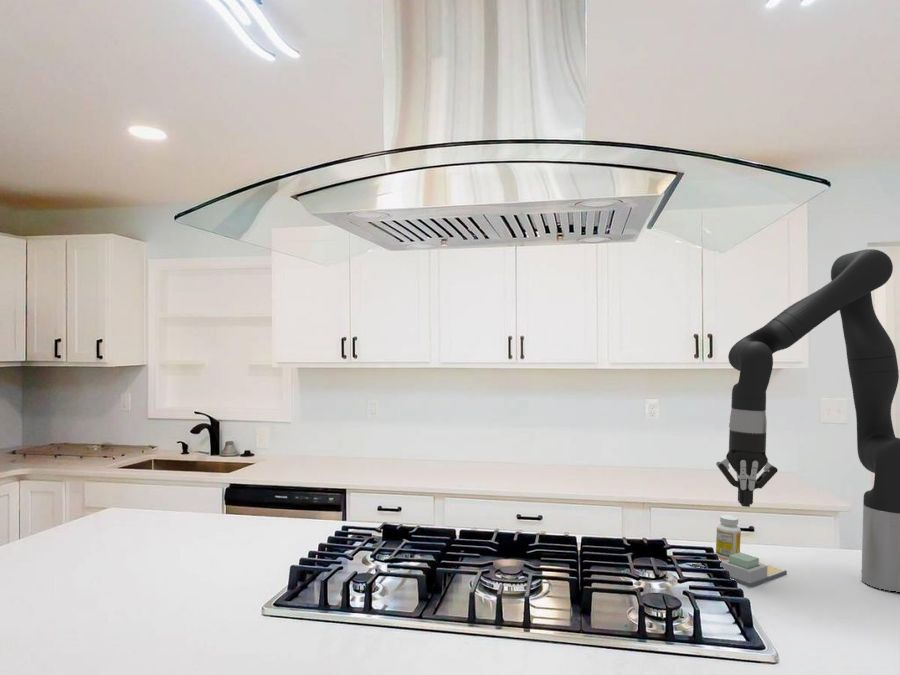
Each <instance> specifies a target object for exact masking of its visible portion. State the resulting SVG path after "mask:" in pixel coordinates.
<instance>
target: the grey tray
mask: <svg viewBox="0 0 900 675" xmlns="http://www.w3.org/2000/svg"><path fill="white" fill-rule="evenodd" d="M714 553H716V551H715V552H714ZM719 559H720V560H721V561H722V562H721V563H720V567H723V568H724V569H725V570H727V571H729V573H730V578H731V579H734V580H736V581H737V582H736V583H737V584H740V585H743V586H746V587H749V588H754V587H756V586H760V585H762V584H765V583H767V582H770V581H774V580H775V579H779V578H781V577H784V576H786V575H788V574H787V573H788V571H787V570H785V569H781V568H779V567H776V566H773V565H769V564H766V563H763V562H759V566H758V567H755V568H752V569H749V570H748V569H745V568H742V567H739V566H736V565H733V564H730V563H729V559H728V560H727V559H723V558H720V557H719ZM693 566H694V567H693ZM691 567H693V568H696V567H700V568H704V567H705V566H704V565H702V564H692V566H691Z"/></svg>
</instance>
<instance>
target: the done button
mask: <svg viewBox="0 0 900 675" xmlns="http://www.w3.org/2000/svg"><path fill="white" fill-rule="evenodd" d="M759 560H760V558H759V557H757V556H753V555H750V554H747V553H743V552H741V551H740V552H739V553H736V554H733V555H730V556H729V563H730V564H733V565H736V566H739V567H742V568H745V569H748V570H749V569H752V568H755V567H758V566H759Z"/></svg>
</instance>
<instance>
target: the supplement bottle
mask: <svg viewBox="0 0 900 675" xmlns="http://www.w3.org/2000/svg"><path fill="white" fill-rule="evenodd" d="M719 521H720V523H719V524H717V526H716V541H715V543H716V544H715V545H716V546H715V552H716V554H717V555H718V557H720V558H723V559H727V560H728V559H729V556H730V555H733V554H736V553H739V552H741V533H742V530H741V528H740V527H739V526H737V525H738V524H739V518H738V517H737V516H733V515H730V514H725V515H724V514H722V515H720V517H719Z"/></svg>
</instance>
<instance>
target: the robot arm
mask: <svg viewBox="0 0 900 675" xmlns="http://www.w3.org/2000/svg"><path fill="white" fill-rule="evenodd" d="M893 265H894V264H893V261H892V259H891V258H890V256H889V255H888V254H887V253H886V252H885V251H881V250H879V249H868V248H867V249H862V250H861V249H860V250H858V251H853V252H849V253H846V254H843V255H841V256H838V257H837V258H836V259H835V261H834V262H833V264H832V265H831V269H830V280H831V281H829V282H828V283H826V284H825V285H824V286H823V287H821V288H819V289H818V290H816V291H815V292H812V293H811V294H809V295H806V296H805V297H803V298H801V299H800V300H798V301H797V302H794V303H792V304H791V305H790V306H788V307H787V308H785V309H783V311H781V312H780V313H778V314H777V315H776V316H775V317H774V318H772V319H771V320H770V321H769V322H767V323H766V324H764V326H761V327H760V328H758V329H757V330H754V331H753V332H751V333H749V334H748V335H746V336H744V337H742V338H741V339H740V340H738V341H737V342H735V344H734V345H733V346H732V347H731V348H730V349H729V352H728V355H727V356H728V363H729V364H730V366H731V367H732V368H733V369H735V370H737V371H739V376H738V382H737V383H735V384H734V385H733V387H732V390H731V410H730V415H729V422H728V428H729V429H728V430H729V435H728V451H727V453H726V456H725V459H723V460H722V461H717V462H716V463H715V465H716V466H717V468H718V470H719V471H720V472H721V474H722V475H723V476H724V477H725V479H726V480H727V481H728V483H729V484H730V485H731V486H732V487H735V488H737V502H738V503H739V504H740V506H741V507H744V508H746V507H747V508H750V507H751V505H753V502H754V491H755V490H756V489H759V490H760V489H763V488H764V486H766V484H767V483H768V482H769V481H770V480H771V479H772V478H774V476H775V474H777V472H778V470H779V469H778V468H777V467H776V466H774V465H772V464H771V463H770V462H769V459H768V456H767V455H766V454H767V452H766V450H767V449H766V448H767V424H768V422H767V421H768V420H767V390H768V386H769V384H770V380H771V375H772V371H773V367H774V366H773V365H774V357H773V354H775V353H776V352H779V351H783V350H785V349H788V348H790V347H792V346H793V345H795V343H797V342H799V340H801V339H802V338H804V337H805V336H807V334H808V333H810V332H811V331H812V330H813V329H816V327H818V326H819V325H821V324H822V323H823V322H824V321H826V320H828V318H830V317H831V316H833V315H835V314H836V313H837V312H839V314H840V318H841V326H842V330H843V331H842V332H843V338H844V343H845V350H846V361H847V366H848V374H849V378H850V384H851V390H852V396H853V403H854V409H855V418H856V446H857V455H858V459H859V462H860V464H861V465H862V466H863V467H864V468H865V470H867V471H869V472H871V473H872V474H874V477H873V479H874V481H873V485H872V488H871V489H870V490H867V491H865V492H864V493H863V500H862V502H863V505H862V509H863V510H862V536H861V537H862V542H861V544H862V545H861V547H862V548H861V549H862V550H861V569H860V570H861V571H860V572H861V573H860V574H861V579H862V580H861V581H862V583H864V584H865V583H866V584H865V585H867V584H868V585H867V586H869V585H870V587H872V586H873V587H872V588H874V587H876V588H875V589H877V588H879V590H881V589H884V590H883V591H885V590H889V591H888V592H890V591H896V592H895V593H897V592H900V437H896V434H895V431H894V426H893V420H892V404H893V402H894V398H895V395H896V392H897V388H898V384H899V379H900V377H899V374H900V373H899V372H900V371H899V365H898V359H897V358H898V357H897V353H896V352H897V351H896V348H895V346H894V343H893V341H892V339H891V337H890V336H889V334H888V332H887V330H886V329H885V328H884V326H883V325H882V323H881V322H880V320H879V318H878V317H877V315H876V311H875V308H874V304H873V297H872V292H873V291H875V290H877V289H879V288H881V287H882V286H884V285H886V283H888V281H889V280H890V278H891V277H892V275H893V269H894V266H893ZM730 466H731V467H732V469H733V470H734V472H735V473H736V479H735V477H734V476H733V475H732V473H731V472H730V471H729V470H730ZM762 469H763V472H762V473H761V474H760V475H759V477H758V476H757V475H758V474H759V473H760V472H761V471H762Z"/></svg>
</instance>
